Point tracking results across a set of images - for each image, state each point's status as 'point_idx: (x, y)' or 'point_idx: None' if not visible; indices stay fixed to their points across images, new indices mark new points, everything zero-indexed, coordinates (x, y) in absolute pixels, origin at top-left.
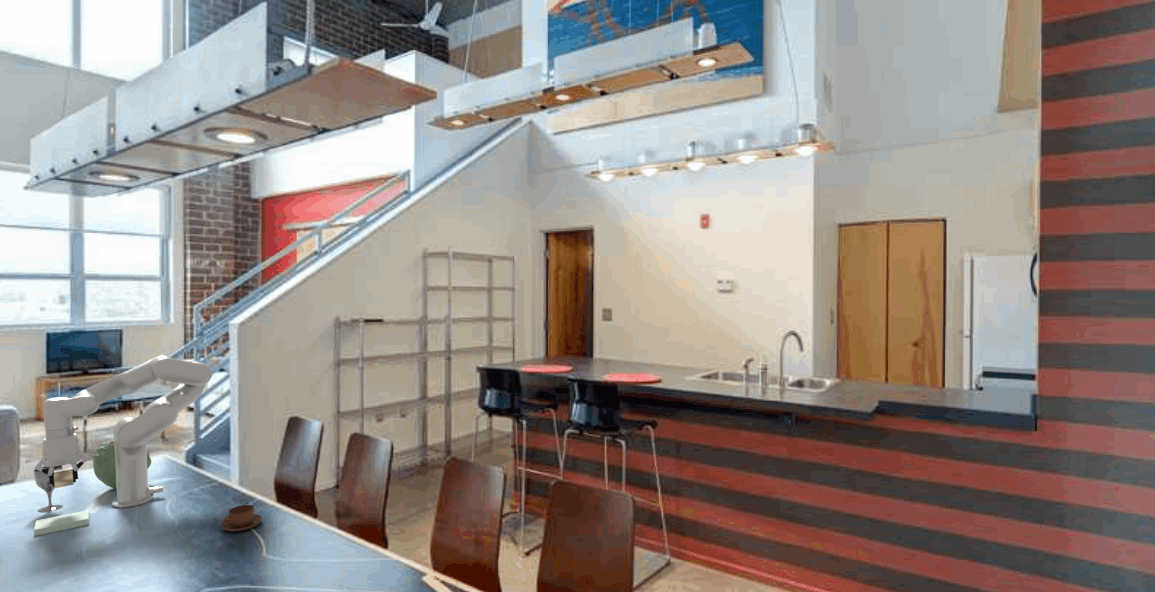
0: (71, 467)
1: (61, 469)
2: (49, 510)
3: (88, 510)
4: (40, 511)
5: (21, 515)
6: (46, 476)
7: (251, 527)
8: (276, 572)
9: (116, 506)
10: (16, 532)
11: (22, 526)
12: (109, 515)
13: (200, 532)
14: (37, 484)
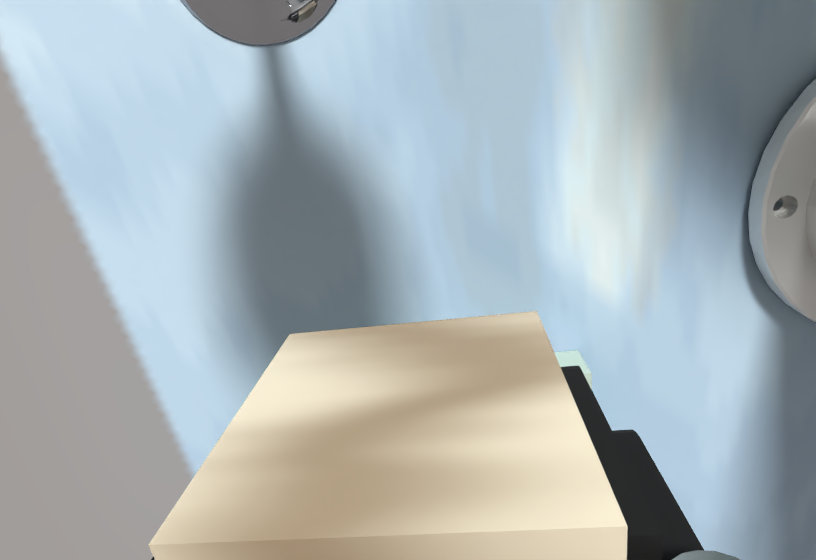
0: (597, 527)
1: (328, 557)
2: (266, 26)
3: (590, 384)
4: (194, 4)
5: (67, 19)
6: None
7: None
8: None
9: (773, 289)
10: (203, 424)
11: (195, 329)
12: (699, 422)
13: None
14: None
